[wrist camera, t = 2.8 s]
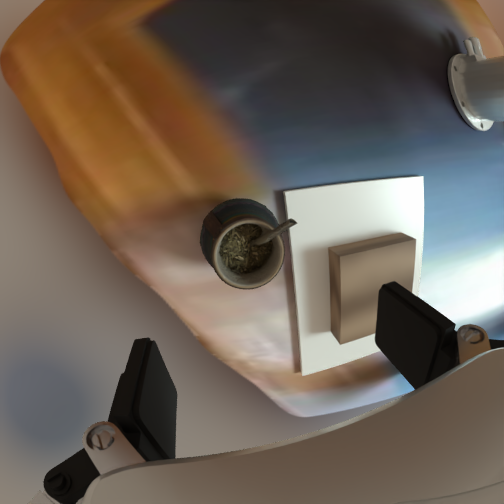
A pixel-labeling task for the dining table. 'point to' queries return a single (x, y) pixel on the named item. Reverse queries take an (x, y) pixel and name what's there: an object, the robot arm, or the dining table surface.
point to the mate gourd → (244, 243)
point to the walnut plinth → (366, 281)
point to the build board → (338, 233)
